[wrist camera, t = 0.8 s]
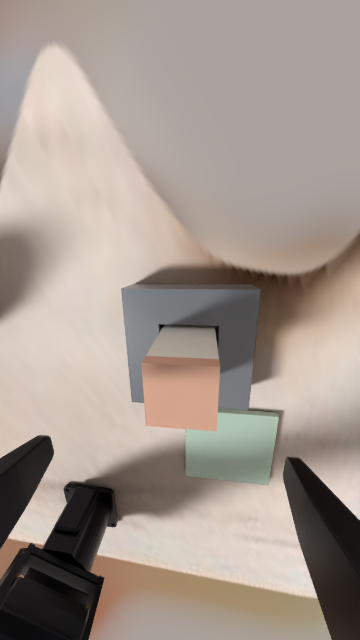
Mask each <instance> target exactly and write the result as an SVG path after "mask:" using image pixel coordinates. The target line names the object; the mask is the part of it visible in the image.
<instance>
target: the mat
mask: <svg viewBox="0 0 360 640" xmlns="http://www.w3.org/2000/svg"><path fill="white" fill-rule="evenodd" d="M278 421H279V416H278V414H277V412H263V411H249V410H235V409H221V408H218V418H217V432H216V431H204V430H192V429H185V475H186V476H190V477H199V478H208V479H217V480H226V481H235V482H244V483H253V484H262V485H268V484H269V478H270V472H271V465H272V459H273V452H274V446H275V440H276V433H277V427H278Z"/></svg>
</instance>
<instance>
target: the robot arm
mask: <svg viewBox="0 0 360 640" xmlns="http://www.w3.org/2000/svg"><path fill="white" fill-rule="evenodd" d="M53 455H54V449H53V445H52V441H51V438H50V437H49V436H46V435H39V436H37V437H35V438H33V439H31V440H30V441H28V442H26V443H25V444H23V445H21V446H20V447H18V448H16V449H15V450H13V451H12V452H10V453H8V454H7V455H5V456H3V457H2V458H0V549H1V547H2V546H3V544H4V542H5V541H6V539H7V538H8V536H9V534H10V533H11V531H12V529H13V528H14V526H15V525H16V523H17V521H18V520H19V518H20V517H21V515H22V513H23V512H24V510H25V508H26V507H27V505H28V503H29V502H30V500H31V498H32V496H33V494H34V492H35V491H36V489H37V487H38V485H39V483H40V481H41V479H42V477H43V475H44V473H45V471H46V470H47V468H48V466H49V464H50V462H51V460H52V458H53ZM283 479H284V484H285V488H286V492H287V496H288V500H289V504H290V508H291V512H292V516H293V520H294V524H295V528H296V532H297V536H298V540H299V543H300V546H301V549H302V552H303V555H304V558H305V561H306V564H307V567H308V570H309V573H310V576H311V579H312V582H313V585H314V588H315V591H316V594H317V597H318V600H319V603H320V606H321V609H322V612H323V615H324V618H325V621H326V624H327V626H328V630H329V633H330V636H331V639H332V640H360V520H359V519H358V518H357V517H356V516H355V515H354V514H353V513H352V512H351V511H350V510H349V509H348V508H347V507H346V506H345V505H344V504H343V503H342V502H341V500H340V499H339V498H338V497H337V496H336V495H335V494H334V493H333V492H332V491H331V490H330V489H329V488H328V487H327V486H326V485H325V484H324V483H323V482H322V481H321V480H320V479H319V478H318V476H317V475H316V474H315V473H314V472H313V471H312V470H311V469H310V468H309V467H308V466H307V465H306V464H305V463H304V462H303V461H302V460H301V459H300V458H298V457H289V456H288V457H286V460H285V466H284V472H283ZM64 493H65V497H66V501H67V504H66V506H65V508H64V510H63V511H62V513H61V515H60V517H59V519H58V520H57V522H56V524H55V526H54V528H53V530H52V532H51V534H50V535H49V537H48V539H47V541H46V543H45V544H44V546H43V548H42V549H40V548H38V547H35V544H33V543H30V545H29V546H28V548H22V549H20V551H19V552H18V554H17V555H16V557H15V558H14V560H13V562H12V563H11V565H10V566H9V568H8V569H7V571H6V572H5V574H4V575H3V577H2V578H1V580H0V640H88V639H89V635H90V632H91V628H92V624H93V620H94V616H95V612H96V608H97V605H98V600H99V597H100V593H101V589H102V585H103V581H104V577H102V576H97V575H95V574H93V573H91V572H90V571H91V568H92V566H93V563H94V560H95V557H96V555H97V552H98V549H99V546H100V544H101V541H102V538H103V536H104V533H105V530H106V527H107V526H108V527H116V525H117V522H118V521H117V514H116V507H115V501H114V494H113V491H112V490H111V489H104V488H96V487H88V486H80V485H72V484H67V485H66V486H65V487H64ZM20 574H21V575H24V576H25V577H24V578H22V577H19V576H20Z"/></svg>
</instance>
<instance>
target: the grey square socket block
mask: <svg viewBox="0 0 360 640" xmlns="http://www.w3.org/2000/svg"><path fill="white" fill-rule="evenodd" d="M121 291H122V302H123V312H124V323H125V334H126V344H127V355H128V366H129V376H130V387H131V398H132V402H139V403H144V392H143V379H142V365H141V363H142V361H143V359H144V358H145V356H146V354H147V353H148V351H149V349H150V348H151V346H152V345H153V343H154V341H155V340H156V338H157V336H158V335H159V333H160V331H161V330H162V328H163V326H164V325H165V324H167V325H205V326H215V333H216V340H217V347H218V355H219V362H220V379H219V398H218V408H223V409H237V410H249V401H250V391H251V381H252V371H253V362H254V352H255V342H256V333H257V323H258V313H259V303H260V294H261V289H259V288H257V287H255V286H254V285H252V284H133V285H130V286H127V287H125V288H122V289H121Z"/></svg>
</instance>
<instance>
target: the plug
mask: <svg viewBox="0 0 360 640" xmlns="http://www.w3.org/2000/svg"><path fill="white" fill-rule="evenodd" d="M141 365H142V379H143V392H144V406H145V420H146V426H156V427H168V428H180V429H192V430H204V431H216V432H217V418H218V398H219V379H220V362H219V355H218V347H217V340H216V333H215V326H205V325H167V324H165V325H164V326H163V328H162V330H161V331H160V333H159V335H158V336H157V338H156V340H155V341H154V343H153V345H152V346H151V348H150V349H149V351H148V353H147V354H146V356H145V358H144V359H143V361H142V363H141Z"/></svg>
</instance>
